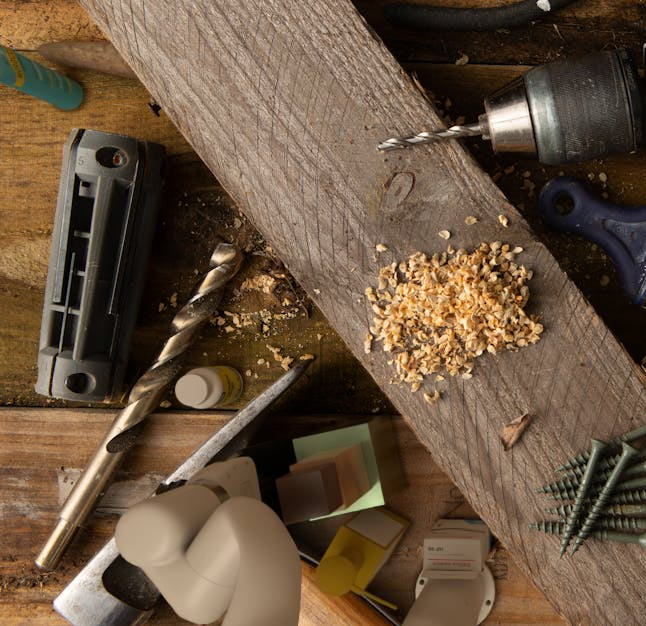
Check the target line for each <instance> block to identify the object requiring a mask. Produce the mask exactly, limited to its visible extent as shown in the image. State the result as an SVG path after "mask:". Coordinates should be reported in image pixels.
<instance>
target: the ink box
mask: <svg viewBox="0 0 646 626" xmlns="http://www.w3.org/2000/svg"><path fill="white" fill-rule="evenodd" d="M484 520H485V519H442V518H441V519H438V520H437V521H436V523H435V524H434V526H433V527H432V528H431V530H429V532H428V533H427V535H426V536H425V537H424V539H423V557H422V558H423V559H422V570H423V571H424V572H423V573H422V575H421V576H420V577H421V578H441V579H476V578H477V576H478V574H479V572H481V570H482V568H483V565H484V563H485V564H486V560H487V558H488V555H489V553H490V550H491V527H490V528H489V527H488V525H487V524H486V523H485V522H484ZM447 575H452V576H447Z"/></svg>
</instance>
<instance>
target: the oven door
mask: <svg viewBox="0 0 646 626" xmlns="http://www.w3.org/2000/svg"><path fill="white" fill-rule="evenodd" d="M317 429H318V428H313V429H309V430H305V431H302V432H298V433H295V434H291V435H286V436H283V437H279V438H275V439H271V440H269V441H265V442H261V443H257V444H254V445H250V446H247V447H243V448H239V449H236V450H235V452H236V455H238V454H242V456H243V457H250V458H251V459H252V460H253V462H254V464H255V467H256V472H257V475H263V478H269V477H272V481H271V484H273V488H272V489H269V490H267V491H265V493H266V495H264V496H262V497H261V502H263V503H264V504H266V505H267V506H269V507H270V508H271V509H272V510H273V511H274V512H275V513H276V515H277V516H278V517H279V518H280V520H281V521H282V522H284V519H283V514H282V510H281V505H280V500H279V496H278V491H277V486H276V481H275V480H276V479H278V478H280V477H282V476H284V475H286V474H288V473H290V466H291V465H293V464H295V463H297V459H296V455H295V450H294V445H293V441H292V440H293V439H295V438H297V437H300V436H302V435H305V434H307V433H310V432H312V431H315V430H317Z"/></svg>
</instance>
